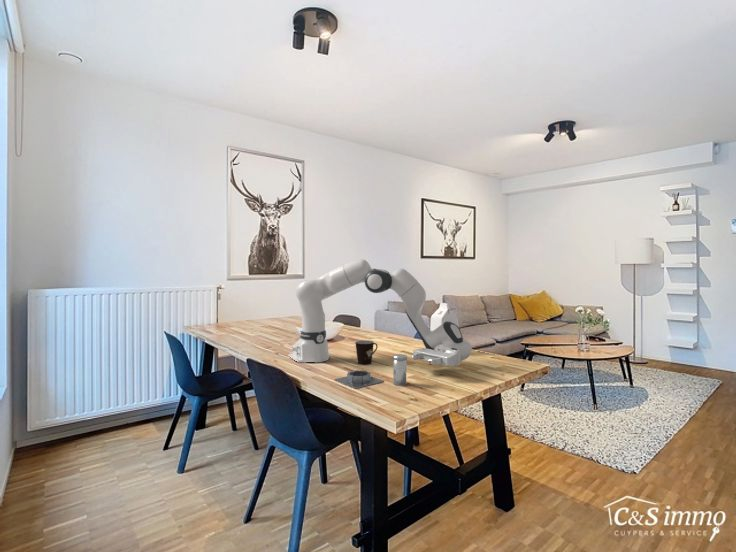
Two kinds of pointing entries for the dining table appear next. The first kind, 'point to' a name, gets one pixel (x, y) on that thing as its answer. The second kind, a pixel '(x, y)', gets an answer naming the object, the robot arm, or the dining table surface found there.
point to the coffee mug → (365, 351)
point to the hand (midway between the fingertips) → (421, 359)
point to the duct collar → (359, 379)
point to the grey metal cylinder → (399, 369)
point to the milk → (443, 317)
